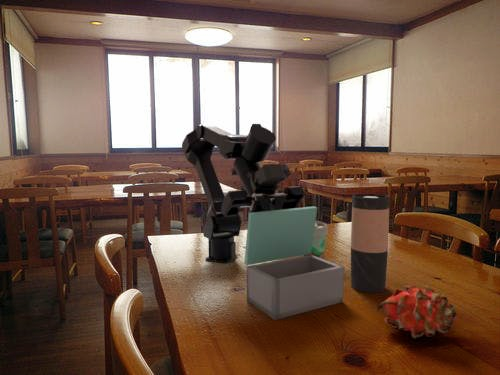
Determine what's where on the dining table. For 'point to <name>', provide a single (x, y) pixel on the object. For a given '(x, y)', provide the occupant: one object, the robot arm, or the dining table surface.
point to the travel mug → (369, 242)
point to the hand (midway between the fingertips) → (280, 232)
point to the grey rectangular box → (294, 285)
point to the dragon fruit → (418, 311)
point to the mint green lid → (279, 234)
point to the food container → (319, 239)
